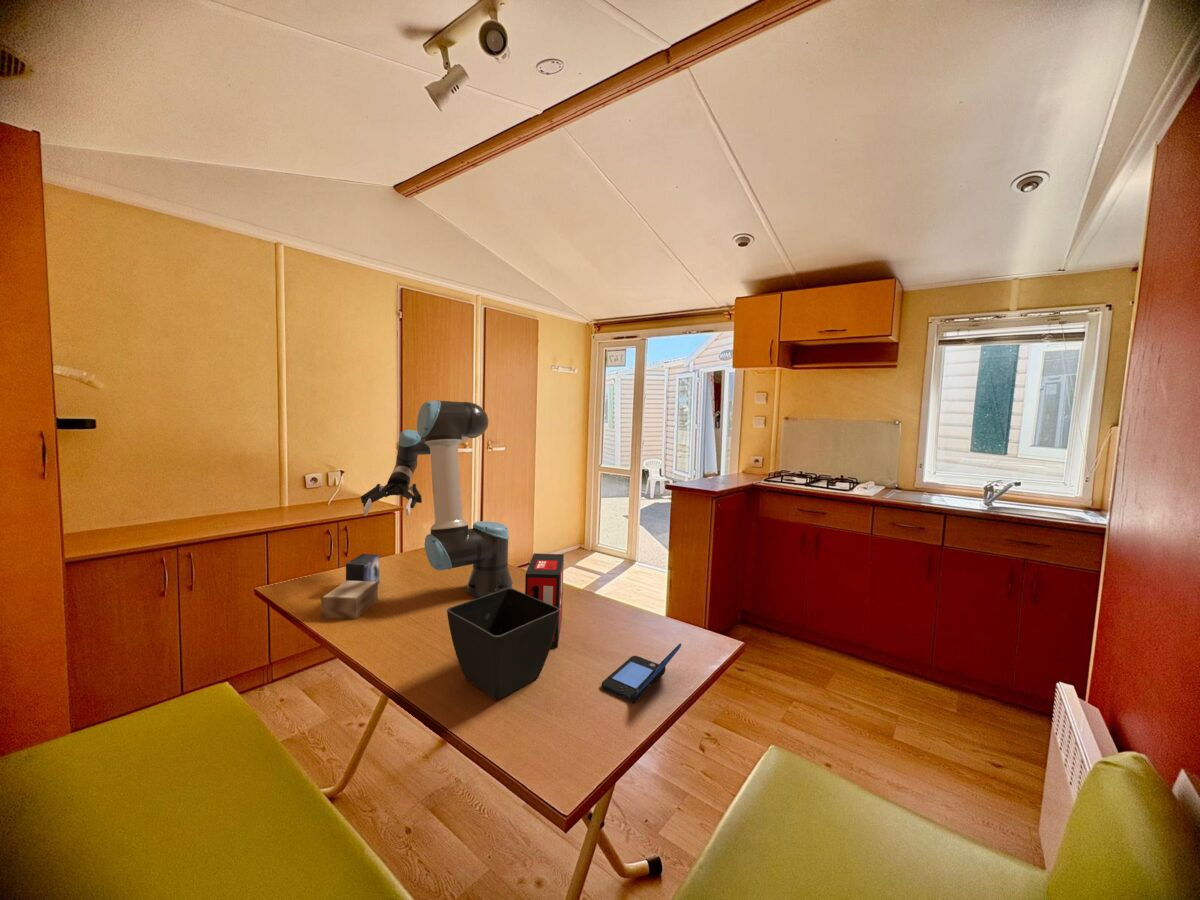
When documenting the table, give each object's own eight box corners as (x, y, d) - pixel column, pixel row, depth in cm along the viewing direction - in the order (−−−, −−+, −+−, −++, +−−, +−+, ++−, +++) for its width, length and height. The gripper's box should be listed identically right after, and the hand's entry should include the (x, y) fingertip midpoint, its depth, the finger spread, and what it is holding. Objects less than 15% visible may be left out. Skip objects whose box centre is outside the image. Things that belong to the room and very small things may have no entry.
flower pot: (508, 647, 120) (509, 585, 119) (560, 676, 108) (562, 607, 107) (444, 678, 106) (444, 608, 104) (495, 715, 94) (496, 637, 92)
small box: (364, 595, 148) (364, 564, 147) (344, 594, 148) (344, 563, 147) (380, 583, 159) (380, 553, 158) (362, 582, 159) (361, 553, 158)
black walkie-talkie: (633, 659, 117) (634, 625, 116) (681, 678, 109) (683, 641, 109) (598, 689, 104) (600, 650, 103) (650, 713, 97) (652, 672, 96)
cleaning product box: (532, 618, 137) (533, 553, 135) (561, 619, 137) (563, 554, 135) (523, 647, 121) (525, 573, 119) (557, 647, 121) (559, 574, 119)
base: (377, 600, 145) (377, 581, 145) (356, 619, 132) (355, 598, 132) (346, 599, 145) (346, 579, 145) (321, 617, 132) (321, 597, 132)
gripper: (434, 488, 179) (425, 520, 160) (366, 488, 174) (348, 521, 156) (433, 471, 175) (423, 502, 157) (363, 471, 171) (345, 503, 152)
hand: (386, 512), depth 156 cm, fingers open, 13 cm apart
